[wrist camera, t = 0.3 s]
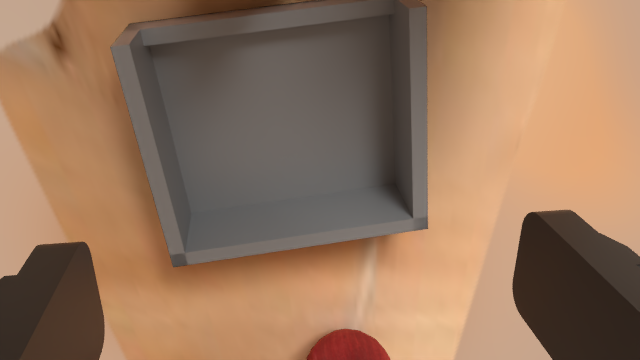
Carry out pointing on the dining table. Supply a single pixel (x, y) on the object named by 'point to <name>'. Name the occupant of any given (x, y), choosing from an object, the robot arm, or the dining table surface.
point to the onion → (348, 347)
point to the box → (281, 124)
